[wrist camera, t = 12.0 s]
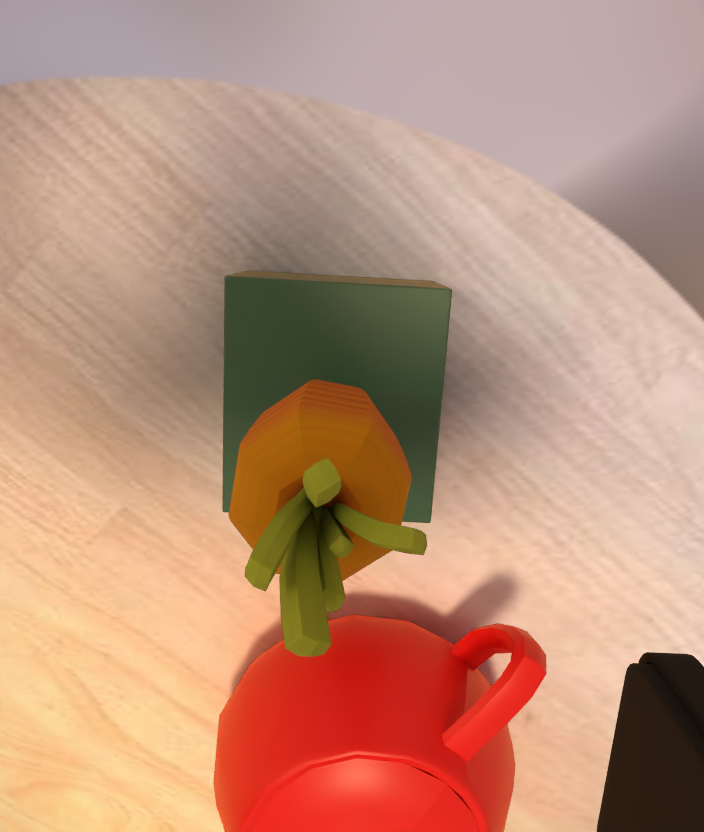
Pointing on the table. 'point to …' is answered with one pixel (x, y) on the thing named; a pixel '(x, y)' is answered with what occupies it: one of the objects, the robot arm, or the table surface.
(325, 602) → the carrot
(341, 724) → the teapot
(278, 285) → the green block
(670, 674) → the robot arm
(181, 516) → the table surface
